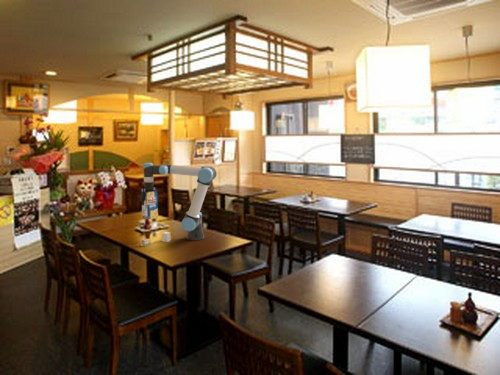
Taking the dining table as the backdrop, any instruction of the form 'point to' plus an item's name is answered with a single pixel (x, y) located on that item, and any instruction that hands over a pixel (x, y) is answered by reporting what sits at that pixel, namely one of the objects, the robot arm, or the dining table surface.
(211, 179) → the robot arm
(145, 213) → the beverage box
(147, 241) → the maple cube
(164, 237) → the white plastic block
